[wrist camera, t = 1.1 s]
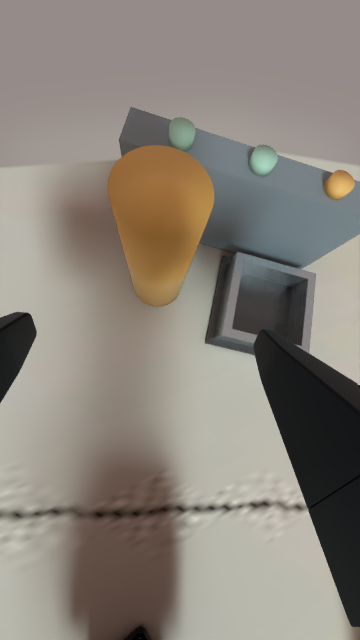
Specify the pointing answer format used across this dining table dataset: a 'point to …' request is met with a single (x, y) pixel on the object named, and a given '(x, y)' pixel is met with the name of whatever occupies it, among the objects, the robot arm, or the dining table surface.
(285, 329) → the box
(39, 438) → the dining table surface
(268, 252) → the block
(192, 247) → the peg
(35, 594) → the dining table surface
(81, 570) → the dining table surface
